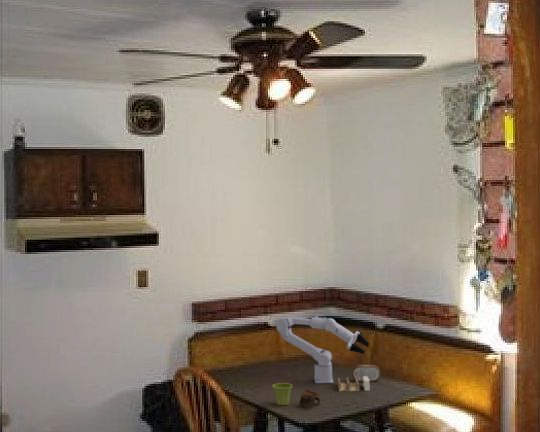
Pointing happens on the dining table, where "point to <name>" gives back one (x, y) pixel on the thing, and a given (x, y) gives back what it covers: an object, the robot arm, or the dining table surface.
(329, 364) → the robot arm
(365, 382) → the tile
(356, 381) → the rack
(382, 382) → the dining table surface
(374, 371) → the tin
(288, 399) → the plant pot
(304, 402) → the pottery mug
